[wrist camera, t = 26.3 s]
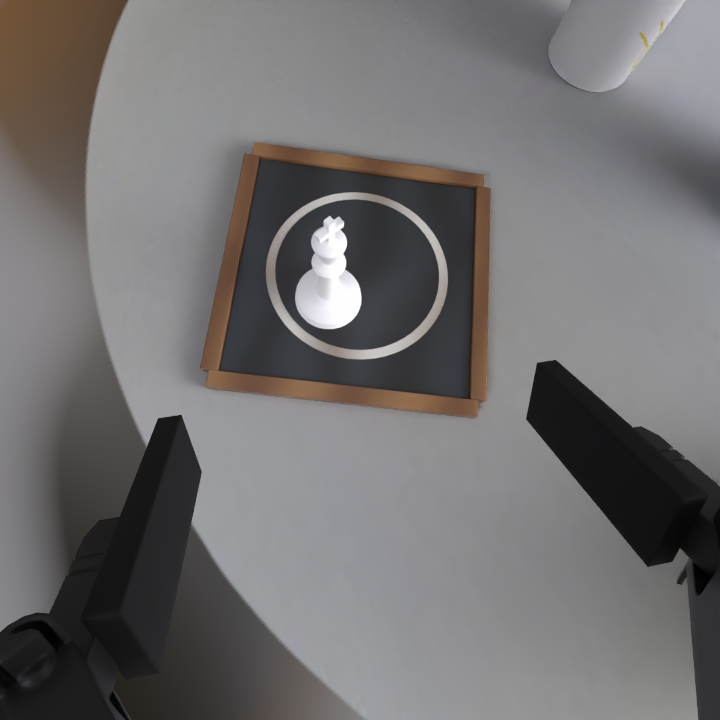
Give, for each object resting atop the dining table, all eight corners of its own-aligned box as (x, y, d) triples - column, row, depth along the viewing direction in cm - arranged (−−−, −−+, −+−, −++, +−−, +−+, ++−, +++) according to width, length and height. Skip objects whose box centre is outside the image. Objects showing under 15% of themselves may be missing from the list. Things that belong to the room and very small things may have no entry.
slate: (200, 387, 29) (196, 385, 28) (248, 148, 34) (246, 140, 34) (481, 419, 30) (486, 417, 29) (487, 182, 36) (491, 175, 35)
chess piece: (281, 293, 31) (261, 213, 21) (332, 256, 32) (335, 163, 22) (324, 342, 30) (323, 283, 20) (374, 302, 31) (396, 228, 21)
